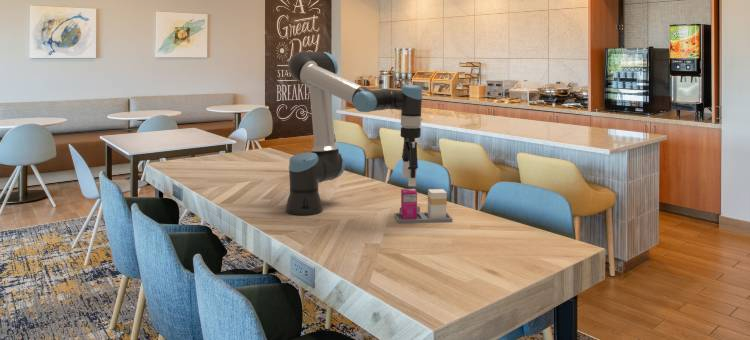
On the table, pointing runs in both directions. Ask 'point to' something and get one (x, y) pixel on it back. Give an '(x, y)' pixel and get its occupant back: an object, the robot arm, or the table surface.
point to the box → (437, 203)
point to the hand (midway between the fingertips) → (408, 181)
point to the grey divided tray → (422, 218)
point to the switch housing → (417, 209)
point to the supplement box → (408, 204)
